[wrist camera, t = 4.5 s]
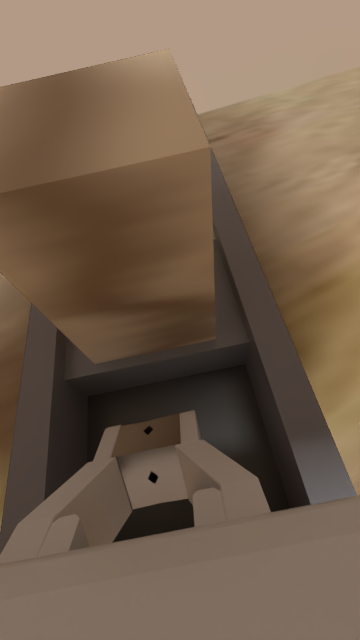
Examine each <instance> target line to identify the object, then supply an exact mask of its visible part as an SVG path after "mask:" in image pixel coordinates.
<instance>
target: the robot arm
mask: <svg viewBox="0 0 360 640" xmlns="http://www.w3.org/2000/svg"><path fill="white" fill-rule="evenodd" d="M183 499H189V501H190V502H191V504H192V505H193V511H194V526H195V527H192V528H187V529H181V530H176V531H171V532H166V533H161V534H155V535H150V536H145V537H140V538H135V539H129V540H124V541H119V542H114V543H112V542H113V541H114V539H115V537H116V536H117V534H118V533H119V531H120V530H121V528H122V526H123V525H124V523H125V522H126V520H127V519H128V517H129V515H130V514H131V512H132V509H136V508H141V507H145V506H150V505H154V504H159V503H164V502H170V501H176V500H183ZM0 640H360V495H358V496H353V497H348V498H343V499H338V500H332V501H327V502H322V503H317V504H312V505H306V506H301V507H296V508H291V509H286V510H280V511H275V512H271V511H270V508H269V506H268V503H267V500H266V498H265V495H264V493H263V490H262V487H261V485H260V482H259V479H258V477H256V476H255V475H253V474H252V473H250V472H249V471H248V470H246V469H245V468H243V467H242V466H240V465H239V464H238V463H236V462H235V461H233V460H232V459H231V458H229V457H228V456H226V455H225V454H223V453H222V452H221V451H219V450H218V449H216V448H215V447H213V446H212V445H211V444H209V443H208V442H206V441H205V440H201V436H200V432H199V427H198V422H197V418H196V413H195V411H194V410H191V411H187V412H183V413H180V414H174V415H170V416H166V417H161V418H157V419H152V420H145V421H140V422H134V423H129V424H123V425H117V426H112V427H108V428H106V429H105V431H104V433H103V436H102V439H101V441H100V444H99V447H98V449H97V452H96V454H95V457H94V460H93V461H92V462H88V463H87V464H86V465H85V466H83V467H82V468H81V469H80V470H79V471H78V472H77V473H75V474H74V475H73V476H72V477H71V478H70V479H69V480H67V481H66V482H65V483H64V484H63V485H62V486H61V487H59V488H58V489H57V490H56V491H55V492H54V493H53V494H51V495H50V496H49V497H48V498H47V499H46V500H45V501H43V502H42V503H41V504H40V505H39V506H38V507H37V508H35V509H34V510H33V511H32V512H31V513H30V514H29V515H27V516H26V517H25V518H24V519H23V520H22V521H21V522H19V523H18V525H17V526H16V528H15V530H14V532H13V533H12V535H11V537H10V539H9V540H8V542H7V544H6V546H5V547H4V549H3V551H2V553H1V554H0Z"/></svg>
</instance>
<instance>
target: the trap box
mask: <svg viewBox="0 0 360 640" xmlns="http://www.w3.org/2000/svg"><path fill="white" fill-rule="evenodd" d="M191 102H192V101H191ZM193 107H194V106H193ZM194 109H195V108H194ZM196 114H197V113H196ZM197 116H198V115H197ZM198 119H199V118H198ZM199 121H200V120H199ZM201 126H202V125H201ZM202 128H203V127H202ZM204 133H205V132H204ZM206 138H207V137H206ZM207 140H208V139H207ZM209 145H210V144H209ZM210 150H211V184H212V217H213V250H214V284H215V317H216V339H215V340H210V341H205V342H200V343H196V344H191V345H186V346H181V347H176V348H171V349H166V350H161V351H157V352H152V353H147V354H142V355H137V356H132V357H127V358H122V359H118V360H113V361H108V362H103V363H98V364H94V363H93V362H92V361H91V360H90V359H89V358H88V357H87V356H86V355H85V354H84V353H83V352H82V351H81V350H80V349H79V348H78V347H77V346H76V345H74V344H73V343H72V342H71V341H70V340H69V339H68V338H67V337H66V336H65V335H64V334H63V333H62V332H61V331H60V330H59V329H58V328H57V327H56V326H55V325H54V324H53V323H52V322H51V321H50V320H49V319H48V318H47V317H46V316H45V315H44V314H43V313H42V312H41V311H40V310H39V309H38V308H37V307H36V306H35V305H34V304H33V303H32V302H31V309H30V317H29V324H28V331H27V339H26V346H25V354H24V361H23V369H22V376H21V383H20V391H19V398H18V406H17V413H16V420H15V428H14V435H13V443H12V450H11V457H10V465H9V472H8V480H7V487H6V494H5V502H4V509H3V517H2V524H1V532H0V554H1V553H2V551H3V549H4V547H5V546H6V544H7V542H8V540H9V539H10V537H11V535H12V533H13V532H14V530H15V528H16V526H17V525H18V523H19V522H21V521H22V520H23V519H24V518H25V517H26V516H27V515H29V514H30V513H31V512H32V511H33V510H34V509H35V508H37V507H38V506H39V505H40V504H41V503H42V502H43V501H45V500H46V499H47V498H48V497H49V496H50V495H51V494H53V493H54V492H55V491H56V490H57V489H58V488H59V487H61V486H62V485H63V484H64V483H65V482H66V481H67V480H69V479H70V478H71V477H72V476H73V475H74V474H75V473H77V472H78V471H79V470H80V469H81V468H82V467H83V466H85V465H86V464H87V463H88V462H92V461H93V460H94V457H95V454H96V452H97V449H98V447H99V444H100V441H101V439H102V436H103V433H104V431H105V429H106V428H108V427H112V426H117V425H123V424H129V423H134V422H140V421H145V420H152V419H157V418H161V417H166V416H170V415H174V414H180V413H183V412H187V411H191V410H194V411H195V413H196V418H197V422H198V427H199V432H200V436H201V440H205V441H206V442H208V443H209V444H211V445H212V446H213V447H215V448H216V449H218V450H219V451H221V452H222V453H223V454H225V455H226V456H228V457H229V458H231V459H232V460H233V461H235V462H236V463H238V464H239V465H240V466H242V467H243V468H245V469H246V470H248V471H249V472H250V473H252V474H253V475H255V476H256V477H258V479H259V482H260V485H261V487H262V490H263V493H264V495H265V498H266V500H267V503H268V506H269V508H270V511H271V512H275V511H280V510H286V509H291V508H296V507H301V506H306V505H312V504H317V503H322V502H327V501H332V500H338V499H343V498H348V497H353V496H357V494H356V492H355V490H354V487H353V485H352V482H351V480H350V478H349V475H348V473H347V470H346V468H345V466H344V463H343V461H342V459H341V456H340V454H339V451H338V449H337V447H336V444H335V442H334V440H333V437H332V435H331V432H330V430H329V428H328V425H327V423H326V420H325V418H324V416H323V413H322V411H321V409H320V406H319V404H318V401H317V399H316V397H315V394H314V392H313V389H312V387H311V385H310V382H309V380H308V378H307V375H306V373H305V370H304V368H303V366H302V363H301V361H300V358H299V356H298V354H297V351H296V349H295V347H294V344H293V342H292V339H291V337H290V335H289V332H288V330H287V328H286V325H285V323H284V320H283V318H282V316H281V313H280V311H279V308H278V306H277V304H276V301H275V299H274V297H273V294H272V292H271V289H270V287H269V285H268V282H267V280H266V277H265V275H264V273H263V270H262V268H261V266H260V263H259V261H258V258H257V256H256V254H255V251H254V249H253V247H252V244H251V242H250V239H249V237H248V235H247V232H246V230H245V227H244V225H243V223H242V220H241V218H240V216H239V213H238V211H237V208H236V206H235V204H234V201H233V199H232V196H231V194H230V192H229V189H228V187H227V185H226V182H225V180H224V177H223V175H222V173H221V170H220V168H219V165H218V163H217V161H216V158H215V156H214V154H213V151H212V149H211V146H210ZM192 527H195V526H194V511H193V505H192V504H191V502H190V501H189V499H183V500H176V501H170V502H164V503H159V504H154V505H150V506H145V507H141V508H136V509H132V512H131V514H130V515H129V517H128V519H127V520H126V522H125V523H124V525H123V526H122V528H121V530H120V531H119V533H118V534H117V536H116V537H115V539H114V541H113V542H112V543H114V542H119V541H124V540H129V539H135V538H140V537H145V536H150V535H155V534H161V533H166V532H171V531H176V530H181V529H187V528H192Z"/></svg>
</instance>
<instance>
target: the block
mask: <svg viewBox="0 0 360 640" xmlns="http://www.w3.org/2000/svg"><path fill="white" fill-rule="evenodd" d="M0 272H1V273H2V274H3V275H4V276H5V277H6V278H7V279H8V280H9V281H10V282H11V283H12V284H13V285H14V286H15V287H16V288H17V289H18V290H19V291H20V292H21V293H22V294H23V295H24V296H25V297H26V298H27V299H28V300H29V301H30V302H32V303H33V304H34V305H35V306H36V307H37V308H38V309H39V310H40V311H41V312H42V313H43V314H44V315H45V316H46V317H47V318H48V319H49V320H50V321H51V322H52V323H53V324H54V325H55V326H56V327H57V328H58V329H59V330H60V331H61V332H62V333H63V334H64V335H65V336H66V337H67V338H68V339H69V340H70V341H71V342H72V343H73V344H74V345H76V346H77V347H78V348H79V349H80V350H81V351H82V352H83V353H84V354H85V355H86V356H87V357H88V358H89V359H90V360H91V361H92V362H93V363H94V364H98V363H103V362H108V361H113V360H118V359H122V358H127V357H132V356H137V355H142V354H147V353H152V352H157V351H161V350H166V349H171V348H176V347H181V346H186V345H191V344H196V343H200V342H205V341H210V340H215V339H216V317H215V284H214V250H213V217H212V184H211V150H210V145H209V142H208V140H207V138H206V135H205V133H204V130H203V128H202V126H201V123H200V121H199V119H198V116H197V114H196V111H195V109H194V107H193V104H192V102H191V99H190V97H189V95H188V92H187V90H186V87H185V85H184V83H183V80H182V78H181V76H180V73H179V71H178V68H177V66H176V64H175V61H174V59H173V57H172V54H171V52H170V49H165V50H162V51H157V52H153V53H148V54H143V55H140V56H135V57H130V58H126V59H121V60H117V61H113V62H108V63H104V64H99V65H95V66H91V67H86V68H82V69H77V70H73V71H69V72H64V73H60V74H56V75H51V76H47V77H42V78H38V79H33V80H30V81H25V82H20V83H16V84H11V85H7V86H3V87H0Z"/></svg>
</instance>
